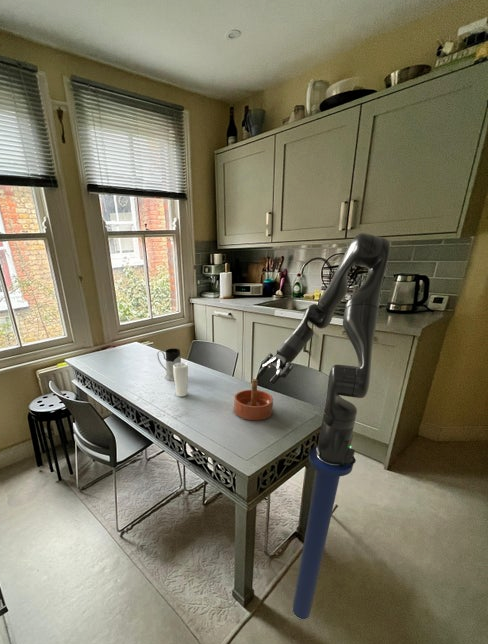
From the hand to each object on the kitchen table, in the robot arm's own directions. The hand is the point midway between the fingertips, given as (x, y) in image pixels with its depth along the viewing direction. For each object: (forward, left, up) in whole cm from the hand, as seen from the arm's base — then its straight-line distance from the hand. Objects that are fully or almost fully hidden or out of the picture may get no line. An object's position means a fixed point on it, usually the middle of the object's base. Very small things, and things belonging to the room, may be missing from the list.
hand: (265, 378), depth 129 cm
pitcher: (+56, -4, -14) cm, 58 cm away
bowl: (+2, +4, -14) cm, 15 cm away
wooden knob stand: (+2, +4, -14) cm, 14 cm away
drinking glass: (+37, +9, -14) cm, 41 cm away
